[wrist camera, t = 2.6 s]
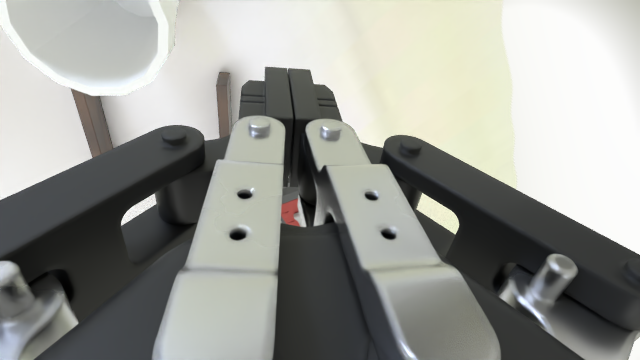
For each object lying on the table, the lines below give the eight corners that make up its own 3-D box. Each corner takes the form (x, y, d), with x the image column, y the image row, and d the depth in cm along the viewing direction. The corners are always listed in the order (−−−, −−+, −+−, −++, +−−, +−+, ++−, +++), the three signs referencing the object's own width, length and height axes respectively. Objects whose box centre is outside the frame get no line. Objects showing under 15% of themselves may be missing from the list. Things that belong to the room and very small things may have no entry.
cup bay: (79, 64, 37) (67, 77, 34) (229, 72, 39) (227, 85, 36) (111, 173, 45) (102, 189, 42) (234, 175, 47) (232, 190, 44)
